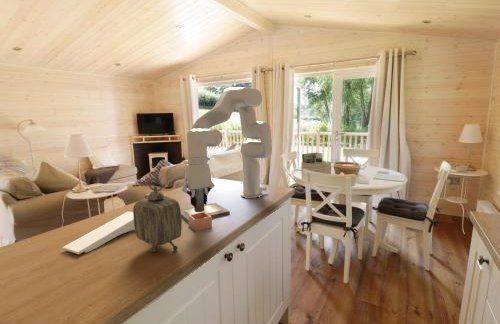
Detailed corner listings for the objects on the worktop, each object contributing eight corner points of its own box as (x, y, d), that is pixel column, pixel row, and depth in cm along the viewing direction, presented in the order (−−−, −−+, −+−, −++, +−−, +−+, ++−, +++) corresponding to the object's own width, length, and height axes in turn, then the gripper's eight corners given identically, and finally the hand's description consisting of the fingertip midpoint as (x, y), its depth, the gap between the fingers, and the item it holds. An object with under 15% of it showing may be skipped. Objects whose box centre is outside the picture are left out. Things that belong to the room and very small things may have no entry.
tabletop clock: (183, 249, 94) (179, 178, 90) (161, 261, 87) (156, 184, 83) (156, 239, 102) (151, 173, 98) (134, 249, 95) (128, 178, 91)
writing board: (215, 205, 141) (215, 202, 140) (229, 214, 128) (229, 210, 128) (177, 213, 130) (177, 209, 130) (188, 223, 117) (188, 219, 117)
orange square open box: (204, 221, 119) (204, 211, 119) (211, 227, 113) (211, 216, 113) (188, 225, 116) (188, 215, 115) (195, 231, 110) (194, 220, 109)
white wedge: (83, 271, 92) (145, 229, 117) (81, 254, 90) (145, 215, 114) (63, 258, 96) (127, 221, 120) (61, 242, 93) (127, 206, 117)
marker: (202, 208, 116) (201, 185, 114) (205, 210, 112) (205, 187, 111) (193, 210, 114) (192, 186, 112) (196, 212, 110) (195, 188, 109)
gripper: (212, 158, 117) (213, 199, 120) (174, 161, 109) (176, 206, 111) (220, 160, 111) (221, 203, 114) (180, 164, 102) (182, 211, 105)
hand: (199, 204), depth 113 cm, fingers closed on marker, 4 cm apart
